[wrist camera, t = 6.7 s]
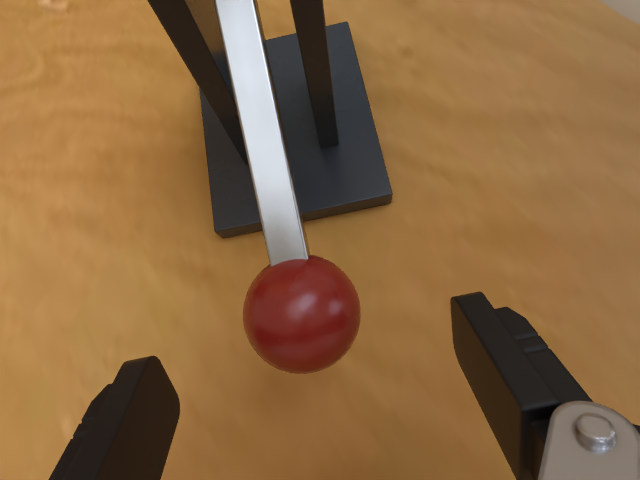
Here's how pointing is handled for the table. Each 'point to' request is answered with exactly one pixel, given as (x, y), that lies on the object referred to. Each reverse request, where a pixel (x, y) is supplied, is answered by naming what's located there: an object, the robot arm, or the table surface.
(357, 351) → the table surface
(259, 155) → the lever
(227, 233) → the bracket
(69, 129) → the table surface
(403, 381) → the table surface
